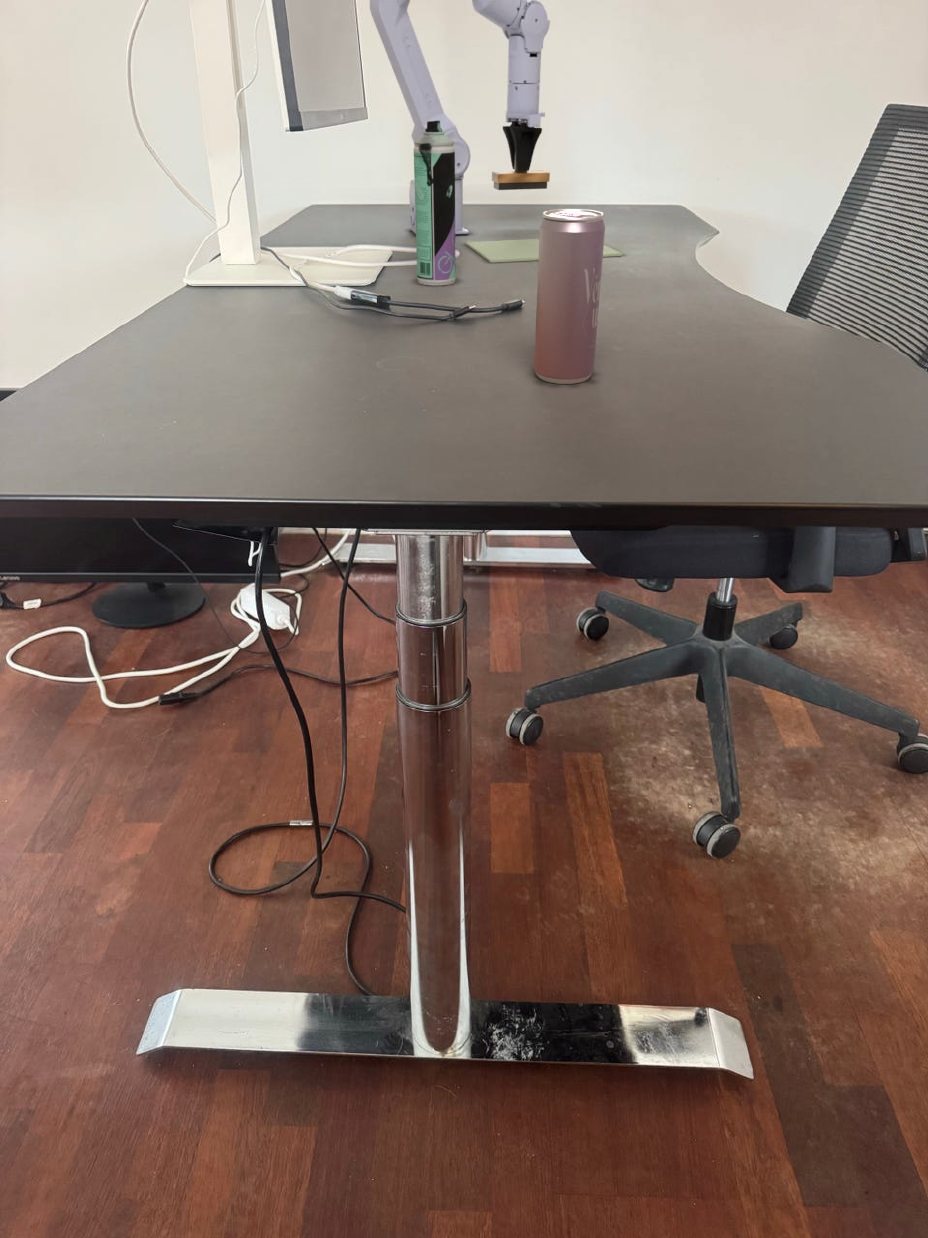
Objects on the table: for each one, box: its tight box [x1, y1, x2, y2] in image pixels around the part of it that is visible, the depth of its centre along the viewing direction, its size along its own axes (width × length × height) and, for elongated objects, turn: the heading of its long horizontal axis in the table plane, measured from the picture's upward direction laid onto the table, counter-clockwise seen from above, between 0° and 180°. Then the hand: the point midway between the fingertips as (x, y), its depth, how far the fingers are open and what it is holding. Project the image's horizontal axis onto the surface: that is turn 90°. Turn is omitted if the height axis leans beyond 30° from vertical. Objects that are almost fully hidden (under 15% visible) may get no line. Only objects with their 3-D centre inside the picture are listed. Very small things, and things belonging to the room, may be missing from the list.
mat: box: [465, 238, 623, 264], centre depth 144 cm, size 22×16×1 cm
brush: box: [491, 155, 551, 191], centre depth 161 cm, size 10×4×7 cm, turn 104°
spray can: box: [413, 121, 457, 286], centre depth 119 cm, size 6×6×20 cm
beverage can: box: [533, 208, 606, 385], centre depth 84 cm, size 6×6×15 cm
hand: (520, 169), depth 161 cm, fingers closed on brush, 2 cm apart
